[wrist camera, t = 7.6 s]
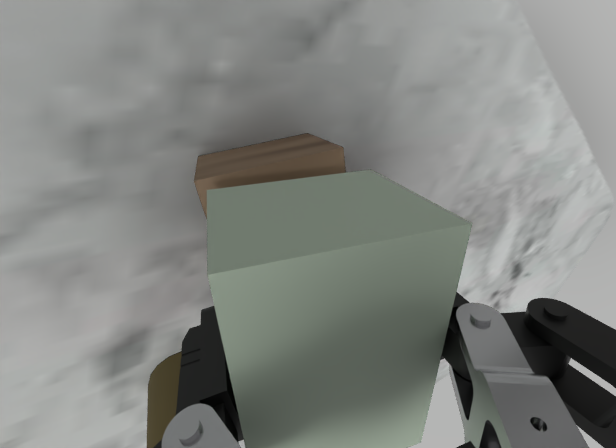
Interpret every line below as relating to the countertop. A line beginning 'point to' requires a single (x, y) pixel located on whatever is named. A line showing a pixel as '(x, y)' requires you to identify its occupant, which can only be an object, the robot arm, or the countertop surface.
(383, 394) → the sage brick
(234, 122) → the countertop surface
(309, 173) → the base brick
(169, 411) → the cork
